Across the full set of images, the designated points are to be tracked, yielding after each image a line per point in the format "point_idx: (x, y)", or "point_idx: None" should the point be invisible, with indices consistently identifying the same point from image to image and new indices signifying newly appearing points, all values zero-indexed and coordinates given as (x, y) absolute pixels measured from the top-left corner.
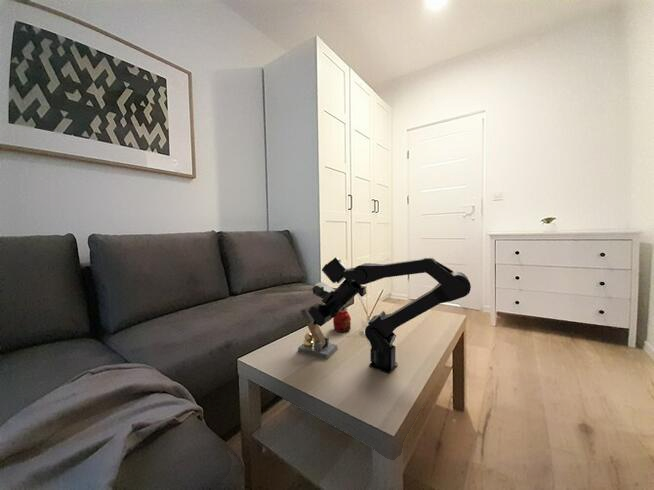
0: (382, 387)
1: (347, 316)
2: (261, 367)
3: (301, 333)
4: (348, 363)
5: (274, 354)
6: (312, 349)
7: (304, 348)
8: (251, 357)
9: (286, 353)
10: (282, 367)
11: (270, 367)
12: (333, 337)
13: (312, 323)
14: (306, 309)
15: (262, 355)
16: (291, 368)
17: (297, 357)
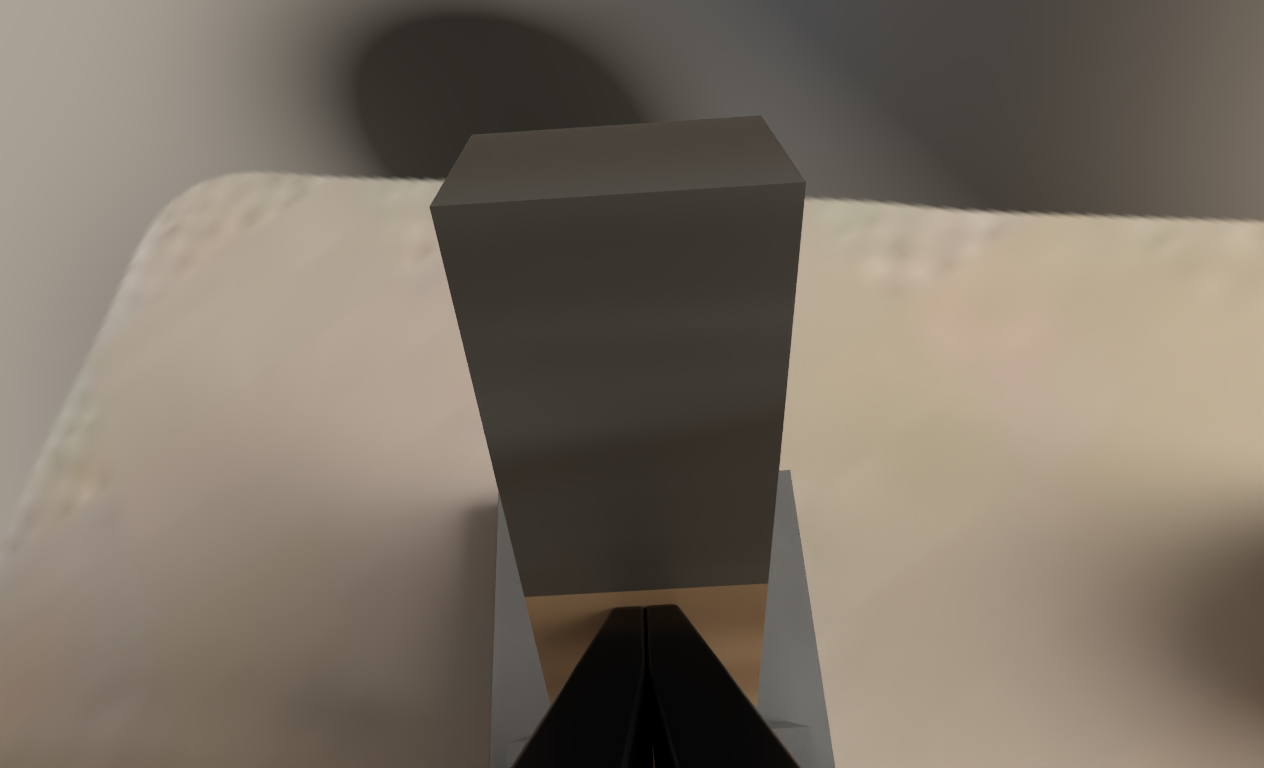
0: None
1: None
2: (97, 392)
3: (928, 249)
4: None
5: (360, 328)
6: (529, 701)
7: (509, 579)
8: (240, 204)
9: (425, 414)
10: (141, 572)
11: (114, 464)
12: (1145, 685)
13: (556, 622)
14: (516, 259)
15: (303, 252)
16: (144, 677)
17: (391, 579)
